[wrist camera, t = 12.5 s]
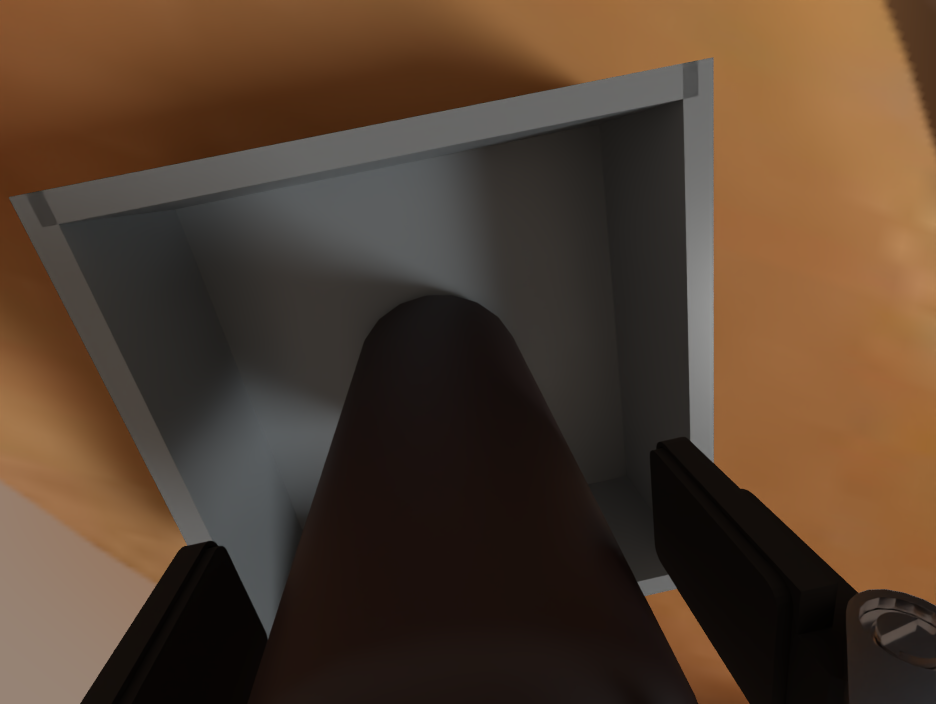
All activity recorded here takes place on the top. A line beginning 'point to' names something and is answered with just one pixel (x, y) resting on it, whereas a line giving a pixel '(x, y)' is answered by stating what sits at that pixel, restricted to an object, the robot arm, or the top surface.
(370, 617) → the vinegar
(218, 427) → the tote
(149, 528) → the top surface
